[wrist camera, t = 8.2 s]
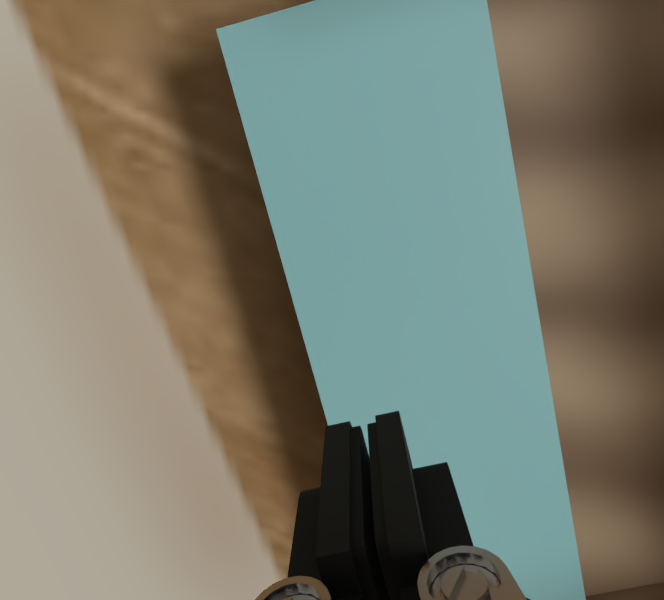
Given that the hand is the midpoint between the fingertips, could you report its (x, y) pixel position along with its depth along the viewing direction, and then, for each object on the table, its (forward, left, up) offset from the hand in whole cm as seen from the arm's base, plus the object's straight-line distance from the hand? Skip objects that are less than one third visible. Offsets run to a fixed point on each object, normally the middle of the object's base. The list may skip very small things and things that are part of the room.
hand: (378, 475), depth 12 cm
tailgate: (+1, +6, -8) cm, 10 cm away
